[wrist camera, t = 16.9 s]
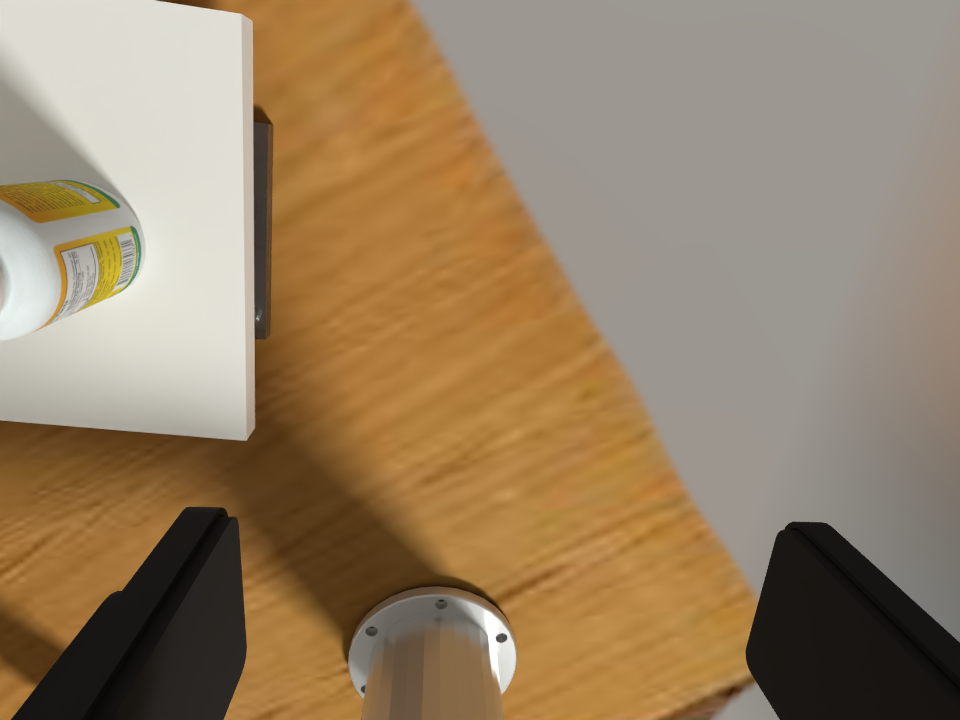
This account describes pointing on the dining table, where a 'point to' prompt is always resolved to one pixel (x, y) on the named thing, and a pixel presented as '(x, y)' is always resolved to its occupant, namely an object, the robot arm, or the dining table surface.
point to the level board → (139, 210)
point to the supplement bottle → (62, 252)
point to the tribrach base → (262, 226)
